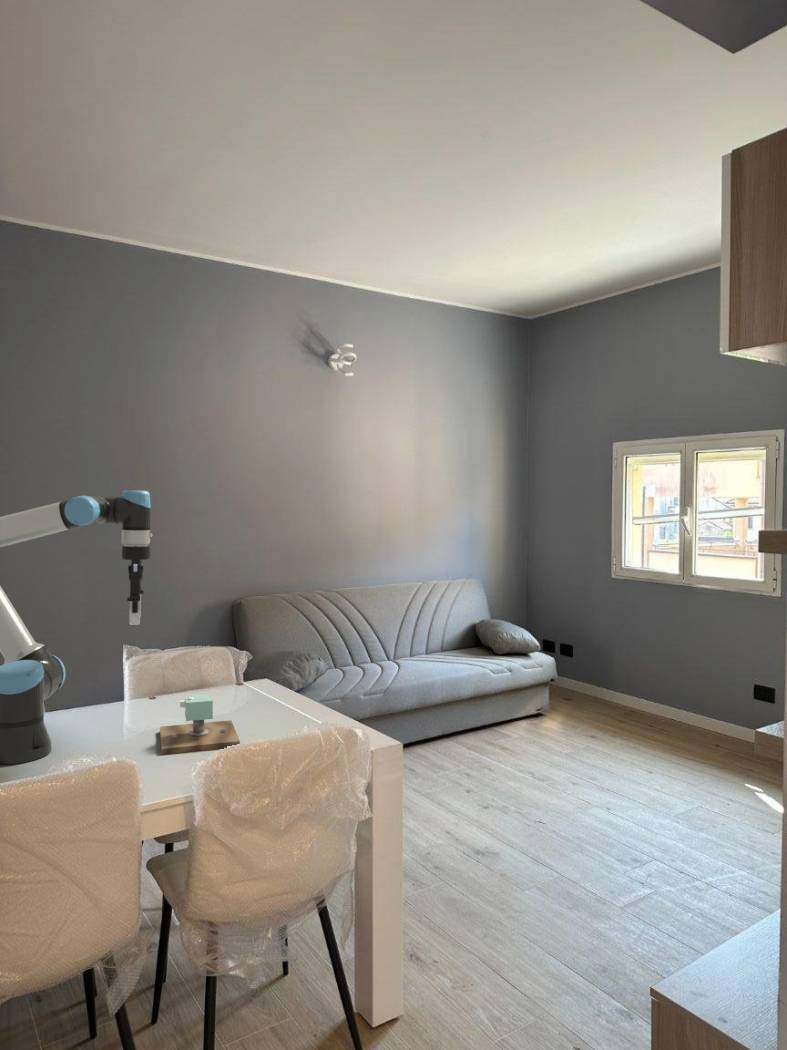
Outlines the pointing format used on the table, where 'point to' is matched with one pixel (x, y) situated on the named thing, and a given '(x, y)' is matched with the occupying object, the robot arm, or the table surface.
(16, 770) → the table surface
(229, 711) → the table surface
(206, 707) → the cap
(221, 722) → the walnut base
